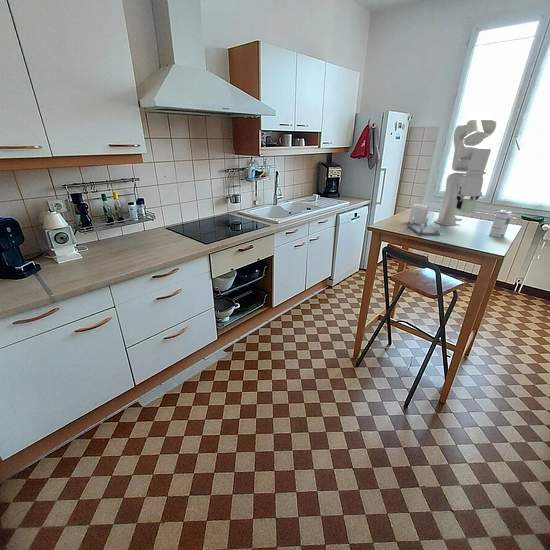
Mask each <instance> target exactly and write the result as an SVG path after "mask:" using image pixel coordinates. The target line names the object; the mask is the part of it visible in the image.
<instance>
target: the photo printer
mask: <svg viewBox="0 0 550 550" xmlns="http://www.w3.org/2000/svg"><path fill="white" fill-rule="evenodd" d="M428 213H429V207H428V206H427V205H425V204H422V203H414V204H412V206H411V209H410V213H409V218H408V222H409V223H411V218H412V217H414V222H413V224H418V225H422V224H424V223H425V219H426V218H428V217H427V216H428Z"/></svg>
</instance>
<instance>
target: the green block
mask: <svg viewBox="0 0 550 550" xmlns="http://www.w3.org/2000/svg"><path fill="white" fill-rule="evenodd" d="M457 202H458V200H457V198H456V200H455V203H454V207H453V208H455V209H457V211H460V212H462V213H464V214H467V213H468V214H474V213H475V210H476V206H477V204H478V201H477V200H476V201H475V200H472V199H470V197H468V196H465V197H464V198H463V200H462V206H461V209H458V208H456V205H457Z"/></svg>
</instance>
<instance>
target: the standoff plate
mask: <svg viewBox="0 0 550 550" xmlns="http://www.w3.org/2000/svg"><path fill="white" fill-rule="evenodd" d="M413 222H414V217H412V218H411V222H409V223H408V224H407V226H408V227H407V228H409V229H410V230H411V229H412V230H411V231H412V232H414V233H415V232H416V233H415V234H416V235H418V236H436V235H439V236H440V235H441V233H440V232H439V230H440V225H441V224H438V223H436V226H435V229H434V228H433V227H431V226H430V225H428V222H429V217H426V219H425V223H424V224H422V225H420V224H416V223H413Z"/></svg>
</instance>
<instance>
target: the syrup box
mask: <svg viewBox="0 0 550 550" xmlns="http://www.w3.org/2000/svg"><path fill="white" fill-rule="evenodd" d="M512 215H513V211H510V210H504V209H501V210H497V211H496V214H495V216H494V219H493V222H492V224H491V225H492V226H491V228H490V232H489V236H492V237H496V238H503V237H504V236H505V235H506V232H507V229H508V226H509V224H510V222H511V221H510V220H511V219H512Z"/></svg>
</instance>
